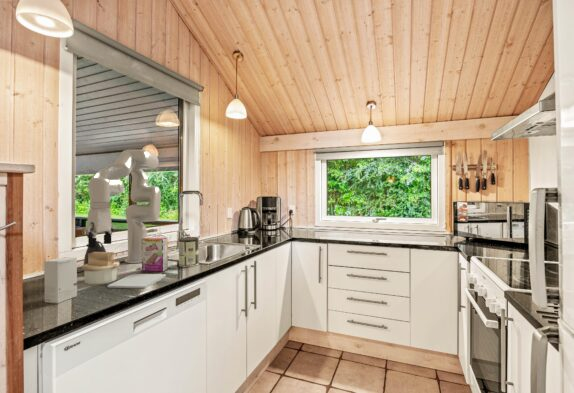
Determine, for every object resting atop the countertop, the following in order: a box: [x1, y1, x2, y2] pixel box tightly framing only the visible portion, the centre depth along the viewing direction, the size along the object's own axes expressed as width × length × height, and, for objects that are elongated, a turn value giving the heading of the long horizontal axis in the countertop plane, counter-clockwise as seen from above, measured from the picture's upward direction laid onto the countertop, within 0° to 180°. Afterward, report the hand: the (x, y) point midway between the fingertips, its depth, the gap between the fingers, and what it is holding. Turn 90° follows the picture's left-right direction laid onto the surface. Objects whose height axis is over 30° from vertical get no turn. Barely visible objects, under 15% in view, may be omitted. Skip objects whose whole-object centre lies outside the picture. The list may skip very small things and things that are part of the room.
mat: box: [107, 273, 167, 290], centre depth 134 cm, size 18×16×1 cm
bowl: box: [83, 267, 118, 286], centre depth 135 cm, size 12×12×6 cm
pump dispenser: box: [82, 240, 107, 266], centre depth 149 cm, size 10×10×15 cm
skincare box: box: [43, 256, 78, 304], centre depth 112 cm, size 8×6×15 cm
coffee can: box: [178, 236, 200, 268], centre depth 164 cm, size 10×10×14 cm
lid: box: [81, 251, 120, 271], centre depth 135 cm, size 14×14×7 cm
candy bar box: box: [141, 236, 169, 273], centre depth 152 cm, size 11×5×16 cm, turn 84°
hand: (100, 245), depth 134 cm, fingers open, 9 cm apart
